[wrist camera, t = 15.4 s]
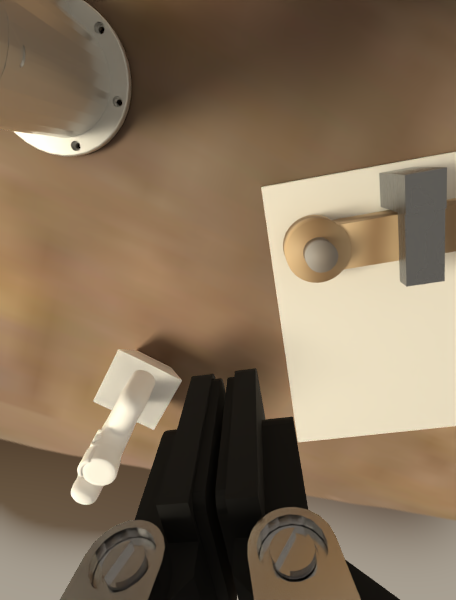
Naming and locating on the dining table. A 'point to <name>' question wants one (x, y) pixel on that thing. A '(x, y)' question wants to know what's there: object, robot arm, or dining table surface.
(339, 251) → the oak link
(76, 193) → the dining table surface
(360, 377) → the pivot board
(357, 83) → the dining table surface
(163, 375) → the figurine
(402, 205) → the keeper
